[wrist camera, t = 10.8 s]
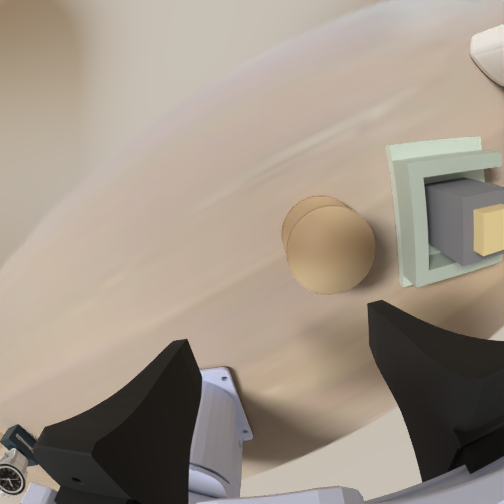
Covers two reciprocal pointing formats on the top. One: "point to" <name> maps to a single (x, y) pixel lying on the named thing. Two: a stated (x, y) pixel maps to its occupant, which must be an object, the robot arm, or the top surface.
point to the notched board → (414, 202)
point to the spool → (327, 245)
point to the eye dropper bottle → (490, 53)
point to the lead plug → (465, 219)
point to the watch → (15, 461)
